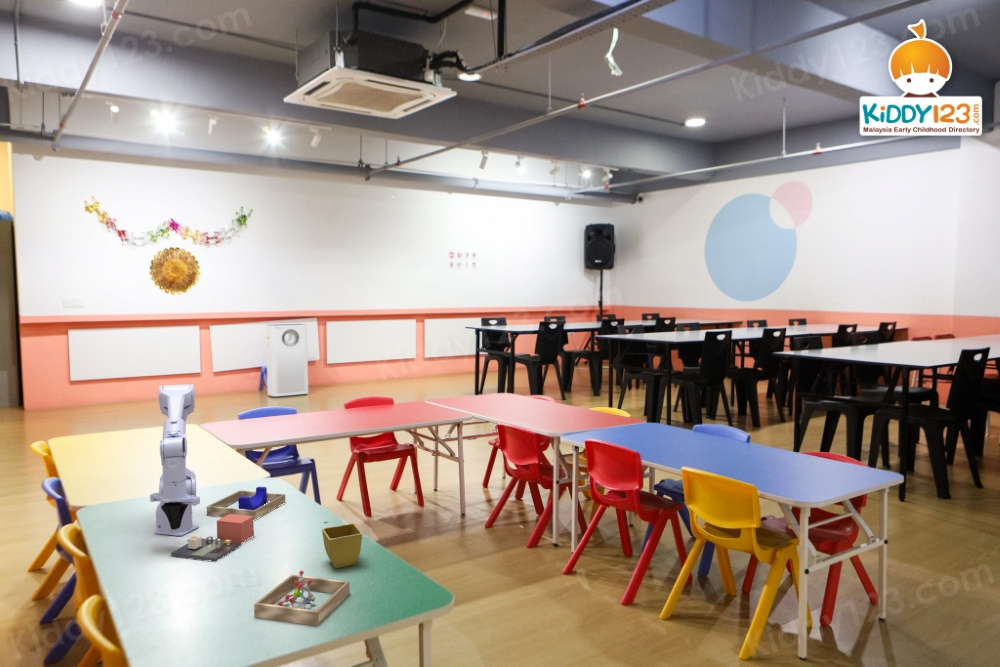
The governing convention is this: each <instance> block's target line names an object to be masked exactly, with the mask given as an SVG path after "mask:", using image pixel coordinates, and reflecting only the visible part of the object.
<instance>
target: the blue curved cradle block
mask: <svg viewBox="0 0 1000 667" xmlns="http://www.w3.org/2000/svg"><path fill="white" fill-rule="evenodd" d="M267 490H268V489H267V487H266V486H257V487H256V488H255V492H256V494H255V495H254V496H252V497H244V496H241V497H239V498H238V501H237V502H238V509H245V510H256V509H258V508H259V507H261V506H263V505H264V504H266V503H268V502H267V493H268V492H267Z"/></svg>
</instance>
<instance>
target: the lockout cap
mask: <svg viewBox="0 0 1000 667" xmlns="http://www.w3.org/2000/svg"><path fill="white" fill-rule="evenodd" d="M254 534H255V533H254V521H253V516H245V515H235V514H228V515H226V516H225V517H220V518H219V519H217V520H216V538H222V541H224V540H225V539H231V542H239V543H242V542H244V541H245V540H247V539H248V538H250V537H252V536H253V537H255V536H254ZM253 537H252V538H253ZM250 539H251V538H250ZM248 540H249V539H248ZM248 540H247V541H248ZM245 542H246V541H245ZM245 542H244V543H245ZM242 544H243V543H242Z"/></svg>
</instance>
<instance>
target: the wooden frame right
mask: <svg viewBox="0 0 1000 667" xmlns="http://www.w3.org/2000/svg"><path fill="white" fill-rule="evenodd" d="M299 578H300V574H299V575H297V574H291V575H289V576H288V577H287V578H285V579H284V580H283V581H282V582H281V583H279V584H278V585H277V586H275V587H274V588H273V589H272V590H270V591H269V592H268V593H267V594H265V595H264V596H262V597H261V598H260V599H258V600H257V601H256V602H254V605H253V612H254V614H253V615H254V618H259V619H264V620H272V621H273V620H274V621H281V622H287V623H294V624H295V623H296V624H300V625H308V626H309V625H310V626H315V627H318V626H319V625H320V624H321V623H322V622H323V621H324V620H325V619H326V618H327V617H328V616H329V615H330V614H331V613H332V612H333V611H334V610H335V609H336V608H337V607H338V606H339V605H340V604H341V603H342V602H343V601H344V600H345V599H346V598H348V596H349V595H350V594H351V592H350V585H351V584H350V581H345V580H340V579H339V580H338V579H330V578H323V577H322V578H321V577H313V576H306V575H302V578H303V582H304V584H306V585H307V583H308V580H309V579H311V580H312V583H311V584H309V586H310V587H309V590H310V592H311V591H313V592H321V593H328V594H332V595H330V597H329V598H327V599H326V600H325V601H324V602H323V603H322V604H321V605H320V606H319V607H318V608H317V609H316V610H312V609H307V608H306V609H300V608H301V607H298V608H293V607H292V606H291V607H290V606H284V605H281V606H278V604H276V605H275V603H278V602H279V600H280V599H281V598H282V596H283V597H284V596H286V595H287V594H288V593H287V592H290V591H291V590H293V589H296V585H294V582H295V581H298V580H299ZM299 584H300V582H299ZM299 584H298V585H299ZM301 584H302V583H301ZM298 588H299V587H298ZM300 590H303V587H302V588H300ZM304 591H307V590H306V589H305V590H304Z"/></svg>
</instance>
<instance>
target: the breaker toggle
mask: <svg viewBox="0 0 1000 667" xmlns="http://www.w3.org/2000/svg"><path fill="white" fill-rule="evenodd" d="M201 538H202V536H195V535H193V536H191V537H189V538H188V539H187V544H188V548H191V549H197V548H198V547H200V546H201Z"/></svg>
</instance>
